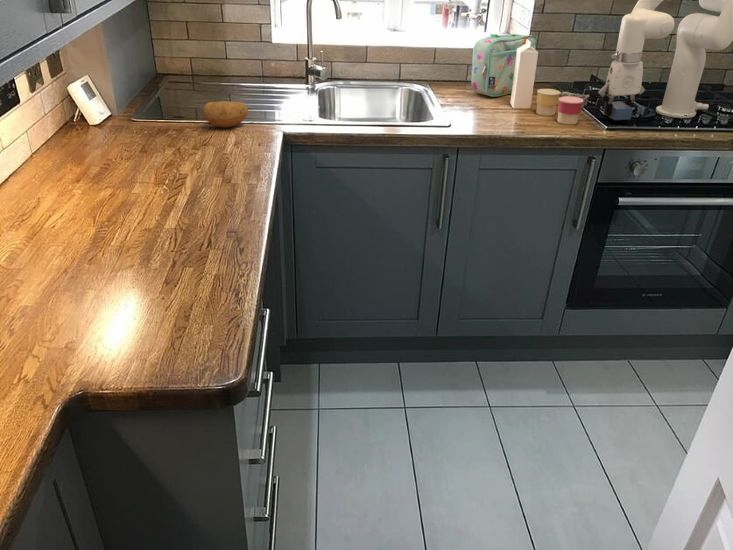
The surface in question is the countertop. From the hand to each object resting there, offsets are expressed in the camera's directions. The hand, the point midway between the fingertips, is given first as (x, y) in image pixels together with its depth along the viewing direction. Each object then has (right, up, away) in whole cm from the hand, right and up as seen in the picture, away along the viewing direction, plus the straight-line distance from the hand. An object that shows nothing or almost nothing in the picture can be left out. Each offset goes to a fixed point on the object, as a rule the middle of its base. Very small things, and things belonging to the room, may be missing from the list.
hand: (617, 113), depth 199 cm
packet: (0, -1, 0) cm, 1 cm away
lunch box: (-31, +16, +32) cm, 48 cm away
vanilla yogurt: (-21, +3, +9) cm, 23 cm away
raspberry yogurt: (-16, -2, +1) cm, 16 cm away
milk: (-28, +7, +16) cm, 33 cm away
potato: (-126, -5, -5) cm, 127 cm away
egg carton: (-9, +8, +18) cm, 22 cm away
